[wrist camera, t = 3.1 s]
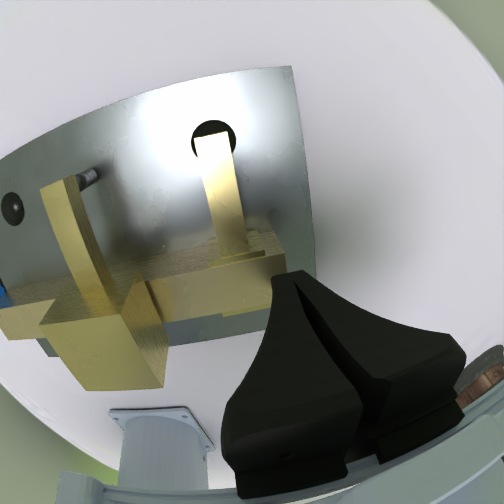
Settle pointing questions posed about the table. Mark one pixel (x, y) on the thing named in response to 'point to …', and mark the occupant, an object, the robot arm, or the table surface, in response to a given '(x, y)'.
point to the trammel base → (169, 204)
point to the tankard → (480, 377)
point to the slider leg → (100, 305)
